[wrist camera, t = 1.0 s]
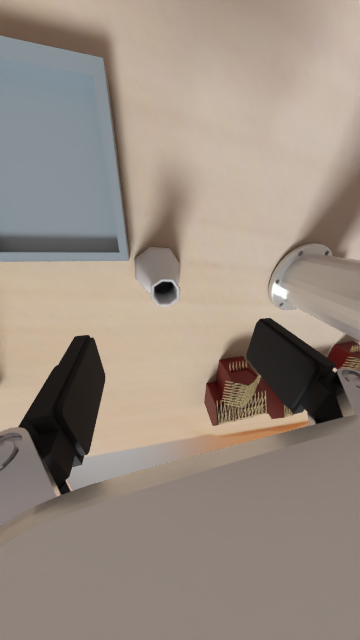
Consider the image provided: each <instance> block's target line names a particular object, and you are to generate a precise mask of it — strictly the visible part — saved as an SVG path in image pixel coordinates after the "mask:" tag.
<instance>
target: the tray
mask: <svg viewBox="0 0 360 640" xmlns="http://www.w3.org/2000/svg"><path fill="white" fill-rule="evenodd" d="M129 258H130V255H129V247H128V239H127V230H126V222H125V214H124V206H123V198H122V189H121V181H120V173H119V165H118V157H117V148H116V140H115V132H114V124H113V116H112V107H111V99H110V91H109V83H108V78H107V73H106V69H105V64H104V60H103V58H102V57H97V56H93V55H88V54H83V53H79V52H74V51H69V50H65V49H60V48H56V47H51V46H46V45H42V44H37V43H32V42H28V41H23V40H19V39H14V38H9V37H5V36H0V262H24V261H129Z"/></svg>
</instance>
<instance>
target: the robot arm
mask: <svg viewBox="0 0 360 640" xmlns="http://www.w3.org/2000/svg"><path fill="white" fill-rule="evenodd" d="M269 297H270V300H271V302H272V303H273V304H274V305H275V306H277V307H278V308H280V309H283V310H293V309H297V308H298V309H300V310H301V311H303V312H305V313H307V314H309V315H311V316H313V317H315V318H317V319H319V320H320V321H322V322H324V323H326V324H328V325H330V326H332V327H334V328H336V329H338V330H339V331H341V332H343V333H345V334H347V335H349V336H351V337H353V338H355V339H357V340H358V341H360V261H359V260H353V259H346V258H340V257H334V256H333V254H332V252H331V250H330V249H329V248H328V247H327V246H325V245H323V244H317V243H309V244H304V245H302V246H300V247H297V248H296V249H294V250H293V251H291V252H290V253H289V254H288V255H286V256H285V257H284V258H283V260H282V261H281V262H280V263H279V264H278V266H277V267H276V269H275V271H274V273H273V274H272V277H271V280H270V283H269ZM247 359H248V361H249V362H250V363H251V364H252V366H253V367H254V368H255V369H256V371H257V372H258V373H259V374H260V375H261V377H262V378H263V379H264V380H265V382H266V383H267V384H268V385H269V387H270V388H271V389H272V390H273V392H274V393H275V394H276V395H277V396H278V398H279V399H280V400H281V401H282V403H283V404H284V405H285V406H286V407H287V408H289V409H290V410H291V411H292V413H293V414H297V413H301V412H303V411H304V409H305V410H306V411H307V412H308V413H307V414H308V420H309V426H307V427H303V428H299V429H295V430H291V431H287V432H284V433H280V434H276V435H272V436H268V437H265V438H261V439H257V440H253V441H249V442H246V443H241V444H238V445H234V446H230V447H227V448H222V449H219V450H215V451H211V452H207V453H204V454H200V455H196V456H192V457H189V458H185V459H181V460H177V461H174V462H170V463H166V464H162V465H159V466H155V467H151V468H147V469H144V470H140V471H137V472H133V473H130V474H126V475H123V476H120V477H116V478H112V479H109V480H106V481H103V482H99V483H95V484H92V485H89V486H86V487H83V488H80V489H77V490H74V491H73V490H72V488H71V486H70V485H69V482H68V480H67V478H68V477H69V476H70V472H71V469H72V467H75V466H78V465H82V462H83V458H84V455H87V454H88V453H89V450H90V446H91V442H92V437H93V433H94V428H95V424H96V419H97V415H98V410H99V406H100V401H101V397H102V392H103V388H104V384H105V373H104V370H103V366H102V363H101V359H100V356H99V353H98V349H97V346H96V343H95V340H94V338H90V336H89V335H84V336H76V337H74V339H73V341H72V342H71V344H70V346H69V347H68V349H67V351H66V353H65V354H64V356H63V358H62V359H61V361H60V363H59V365H57V366H56V367H55V368H54V369H53V370H52V372H51V374H50V375H49V377H48V379H47V380H46V382H45V383H44V385H43V387H42V388H41V390H40V392H39V393H38V395H37V397H36V398H35V400H34V402H33V403H32V405H31V407H30V408H29V410H28V412H27V413H26V415H25V417H24V418H23V420H22V421H21V423H20V425H19V426H18V427H16V428H10V429H7V430H4V431H1V432H0V640H360V372H359V371H357V370H354V369H350V368H339V369H338V370H337V371H336V373H335V372H334V371H332V370H333V368H334V367H335V366H336V364H335V363H333V362H332V361H331V360H329V359H328V358H326V357H325V356H324V355H322V354H321V353H319V352H318V351H316V350H315V349H314V348H312V347H311V346H309V345H308V344H306V343H305V342H304V341H302V340H301V339H299V338H298V337H297V336H295V335H294V334H292V333H291V332H289V331H288V330H287V329H285V328H284V327H282V326H281V325H279V324H278V323H277V322H275V321H274V320H272V319H271V318H265V319H260V320H259V321H258V322H257V323H256V326H255V329H254V332H253V335H252V339H251V342H250V345H249V348H248V351H247Z"/></svg>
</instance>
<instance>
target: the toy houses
mask: <svg viewBox="0 0 360 640" xmlns="http://www.w3.org/2000/svg"><path fill="white" fill-rule="evenodd" d="M327 358H328V359H329V360H331V361H332V362H333V363H335V364H336V366H335V368H336V369H337V370H338V369H339V368H350V369H354V370H357V371H359V372H360V345H359V344H357V343H355V342H347V343H341V344H335V345H334V347H333V348H332V350H331V351H330V353H329V355H328V356H327ZM260 376H261V375H259V376H258V375H257V374H256V373H255V371H254V370H253V369H252V368H251V366H250V365H249V364H248V362H247V360H245V359H244V357H243V356H240V357H234V358H228V359H222V360H219V366H218V372H217V379H216V382H212V383H207V384H206V393H205V402H204V403H205V406H206V408H207V411H208V414H209V417H210V420H211V422H212V425H213V426H215V425H219V424H223V423H228V422H233V421H236V420H242V419H246V418H250V417H253V416H258V415H262V414H267V413H268V414H269V415H270V417H271V419H276V418H284V417H287V416H292V415H294V414H293V413H292V411H291V410H290V409H289V408H287V407H286V406H285V405H284V404H283V403H282V401H281V400H280V399H279V398H278V396H277V395H276V394H275V393H274V392H273V390H272V389H271V388H270V387H269V385H268V384H267V383H266V382H265V380H264V379H263V378H262V377H261V378H260ZM258 377H259V378H258ZM257 378H258V379H260V381H259V380H258V379H257ZM257 380H258V381H259V384H258V381H257ZM256 414H257V415H256ZM239 418H240V419H239Z"/></svg>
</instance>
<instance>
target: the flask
mask: <svg viewBox="0 0 360 640" xmlns="http://www.w3.org/2000/svg"><path fill="white" fill-rule="evenodd" d="M179 273H180V264H179V262H178V260H177V259H176V257H175V255H174V254H173V252H172V251H171V249H170V248H162V247H149V248H148V249H147V250H145V251H144V252H143V253H141V254H140V255H139V256H137V257H136V258H135V275H136V279H137V280H138V282H139V283H140V284H141V285H142V286H143V288H144V289H145V290H146V291H147V292H148V293H151V298H152V299H153V301H154V302H155V303H156V304H157V305H158V306H171V305H172V304H174V303H175V302H177V301H178V300H179V297H180V287H179V286H178V283H179Z"/></svg>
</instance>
